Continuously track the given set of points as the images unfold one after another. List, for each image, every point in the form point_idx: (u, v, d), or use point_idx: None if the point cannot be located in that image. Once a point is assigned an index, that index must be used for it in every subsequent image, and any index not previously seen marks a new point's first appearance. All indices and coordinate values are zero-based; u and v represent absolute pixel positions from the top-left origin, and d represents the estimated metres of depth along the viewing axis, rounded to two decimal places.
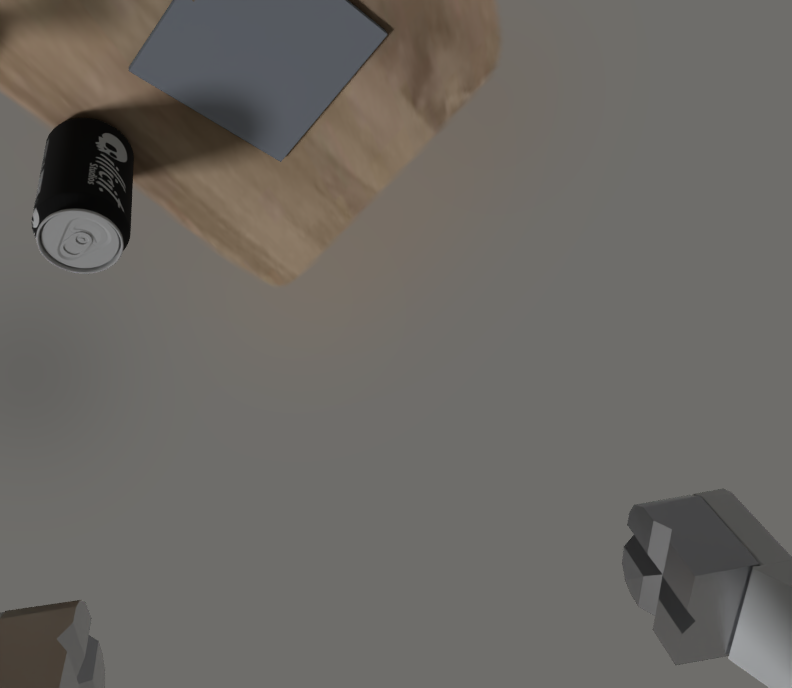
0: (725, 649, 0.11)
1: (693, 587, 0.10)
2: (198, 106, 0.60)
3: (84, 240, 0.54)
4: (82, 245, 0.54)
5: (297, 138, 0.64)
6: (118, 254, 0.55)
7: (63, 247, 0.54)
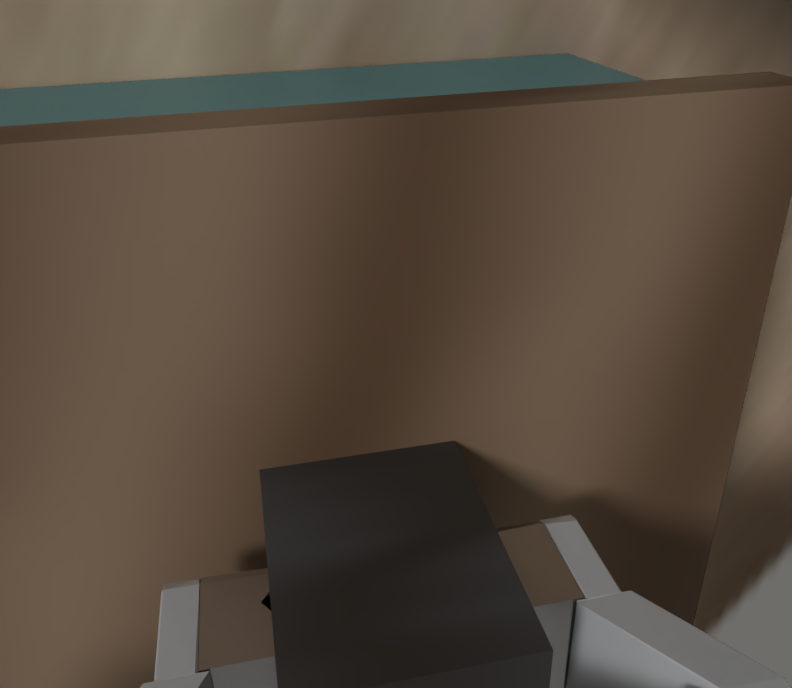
0: (561, 684, 0.10)
1: None
2: None
3: None
4: None
5: None
6: None
7: None
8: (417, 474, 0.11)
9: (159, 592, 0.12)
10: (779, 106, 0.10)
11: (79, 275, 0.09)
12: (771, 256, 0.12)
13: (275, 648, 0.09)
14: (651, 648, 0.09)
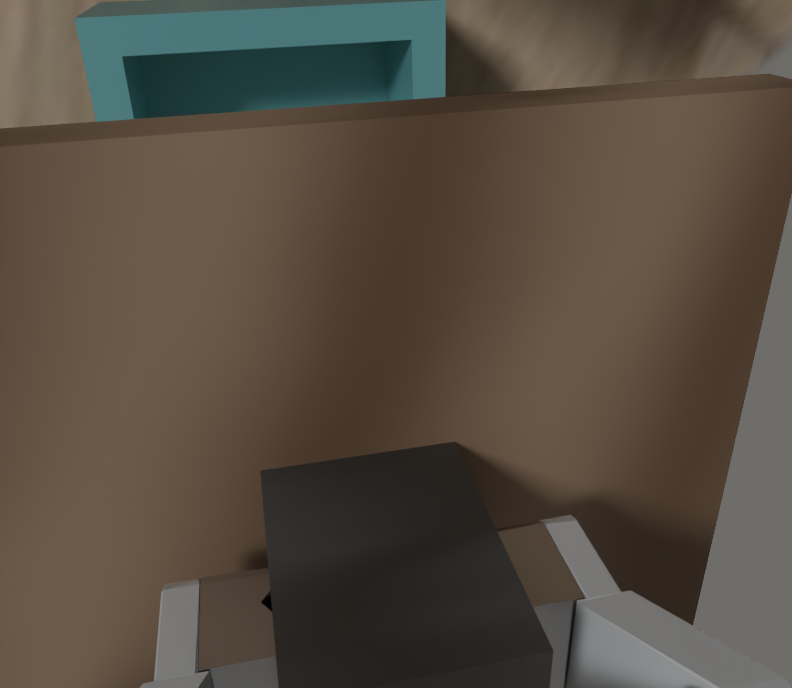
0: (561, 684, 0.10)
1: None
2: None
3: None
4: None
5: None
6: None
7: None
8: (417, 475, 0.11)
9: (160, 593, 0.12)
10: (779, 108, 0.10)
11: (80, 277, 0.09)
12: (770, 257, 0.12)
13: (276, 649, 0.09)
14: (651, 649, 0.09)
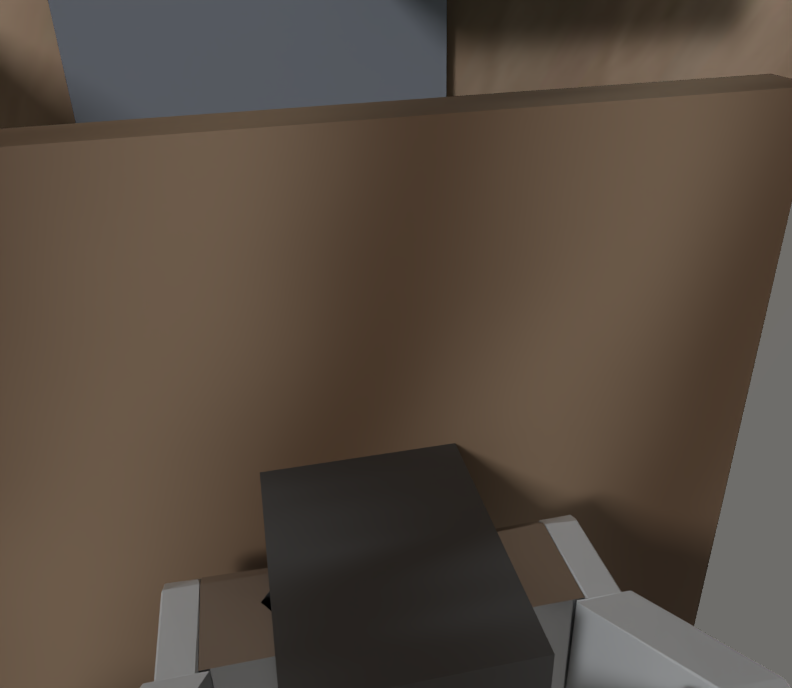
0: (561, 683, 0.10)
1: None
2: None
3: None
4: None
5: None
6: None
7: None
8: (418, 477, 0.11)
9: (159, 596, 0.12)
10: (781, 108, 0.10)
11: (79, 278, 0.09)
12: (772, 258, 0.12)
13: (275, 652, 0.08)
14: (651, 648, 0.09)
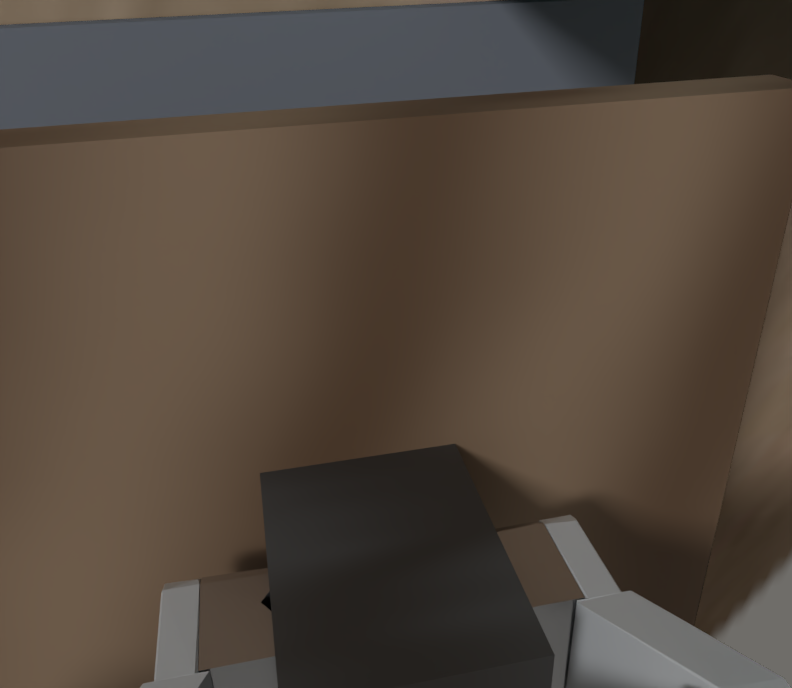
0: (561, 684, 0.10)
1: None
2: None
3: None
4: None
5: None
6: None
7: None
8: (418, 477, 0.11)
9: (159, 596, 0.12)
10: (781, 109, 0.10)
11: (79, 278, 0.09)
12: (772, 259, 0.12)
13: (276, 653, 0.08)
14: (651, 648, 0.09)
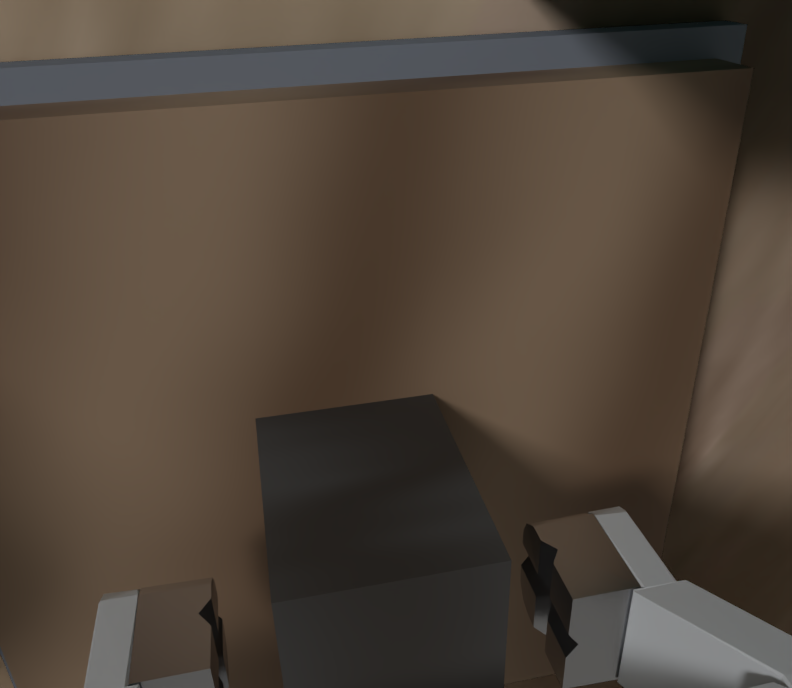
0: (613, 673, 0.11)
1: (572, 610, 0.10)
2: None
3: None
4: None
5: None
6: None
7: None
8: (398, 422, 0.12)
9: (164, 533, 0.13)
10: (721, 88, 0.11)
11: (95, 236, 0.11)
12: (720, 226, 0.13)
13: (268, 560, 0.10)
14: (711, 637, 0.09)
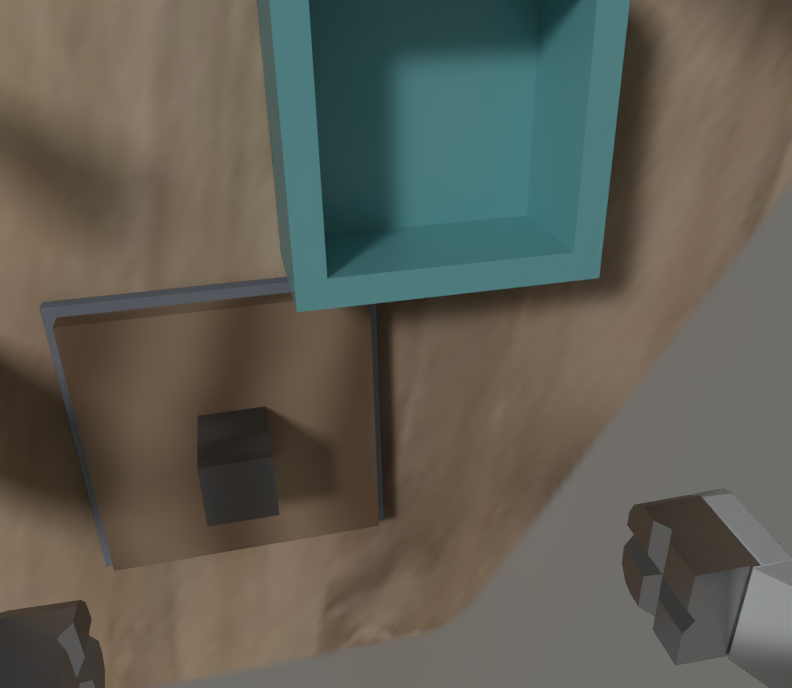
0: (725, 649, 0.11)
1: (693, 587, 0.10)
2: None
3: None
4: None
5: None
6: None
7: None
8: (249, 416, 0.34)
9: (163, 460, 0.34)
10: None
11: (141, 354, 0.32)
12: (371, 343, 0.34)
13: (197, 458, 0.31)
14: None
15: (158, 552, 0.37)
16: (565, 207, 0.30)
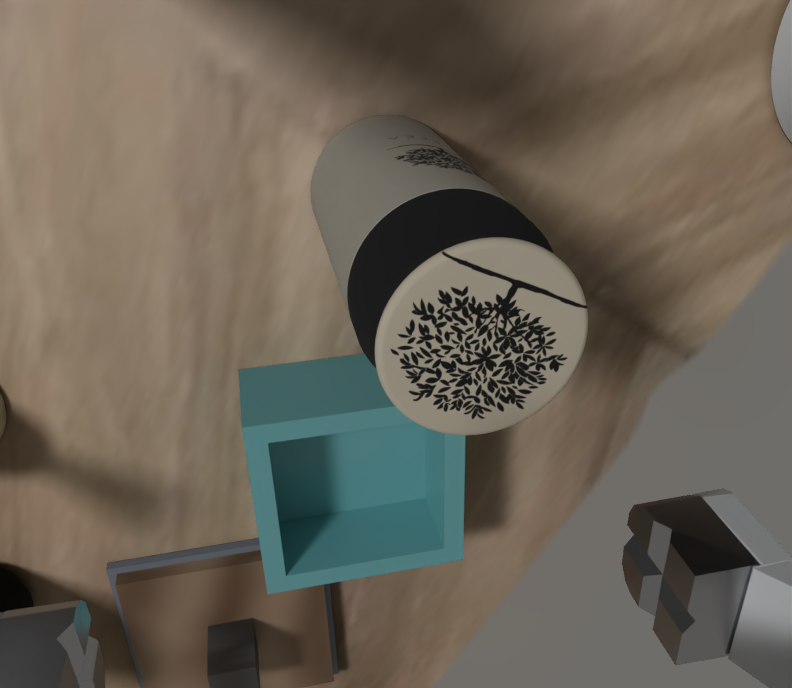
0: (725, 649, 0.11)
1: (693, 587, 0.10)
2: None
3: None
4: None
5: None
6: None
7: None
8: (242, 627, 0.51)
9: (185, 652, 0.52)
10: None
11: (171, 595, 0.49)
12: None
13: (207, 666, 0.48)
14: None
15: None
16: (439, 518, 0.46)
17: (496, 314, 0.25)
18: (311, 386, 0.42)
